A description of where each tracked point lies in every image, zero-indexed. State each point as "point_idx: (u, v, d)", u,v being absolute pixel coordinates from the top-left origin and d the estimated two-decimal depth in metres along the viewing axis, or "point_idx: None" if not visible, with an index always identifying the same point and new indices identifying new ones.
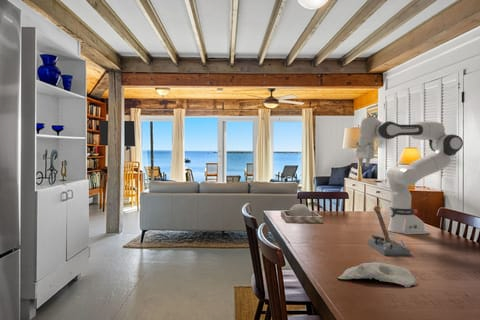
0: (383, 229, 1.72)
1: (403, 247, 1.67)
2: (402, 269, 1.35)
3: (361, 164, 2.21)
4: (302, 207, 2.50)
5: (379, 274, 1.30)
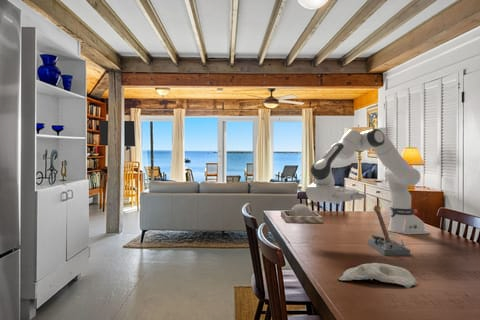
0: (383, 229, 1.72)
1: (403, 247, 1.67)
2: (402, 269, 1.35)
3: (363, 196, 1.81)
4: (303, 207, 2.50)
5: (380, 275, 1.29)
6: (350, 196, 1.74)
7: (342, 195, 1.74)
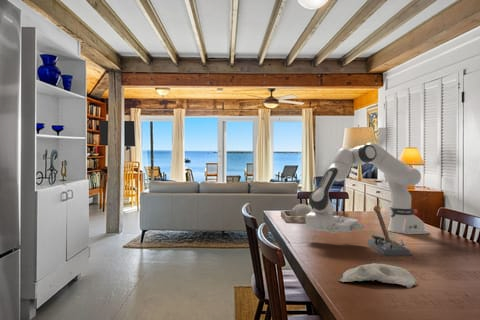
0: (383, 229, 1.72)
1: (403, 247, 1.67)
2: (401, 269, 1.35)
3: None
4: (304, 207, 2.50)
5: (381, 276, 1.28)
6: (349, 227, 1.74)
7: (341, 226, 1.74)
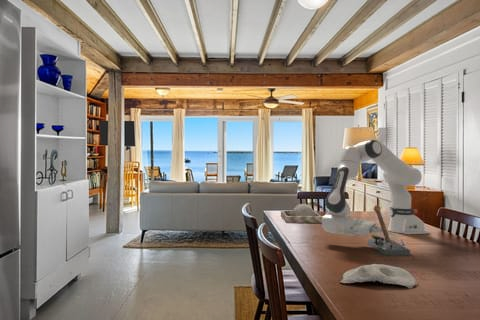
0: (383, 229, 1.72)
1: (403, 247, 1.67)
2: (401, 270, 1.34)
3: None
4: (304, 207, 2.50)
5: (382, 276, 1.27)
6: (369, 230, 1.70)
7: (360, 229, 1.69)
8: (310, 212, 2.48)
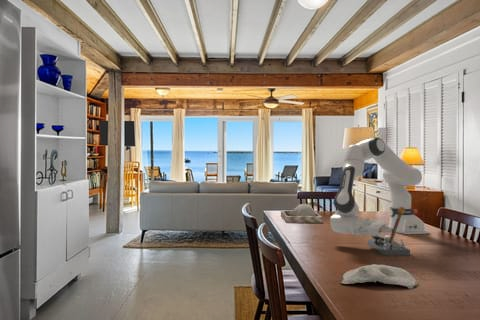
0: (394, 230, 1.69)
1: (403, 247, 1.67)
2: (401, 270, 1.34)
3: None
4: (305, 207, 2.50)
5: (383, 277, 1.27)
6: (378, 230, 1.67)
7: (370, 229, 1.67)
8: (310, 212, 2.48)
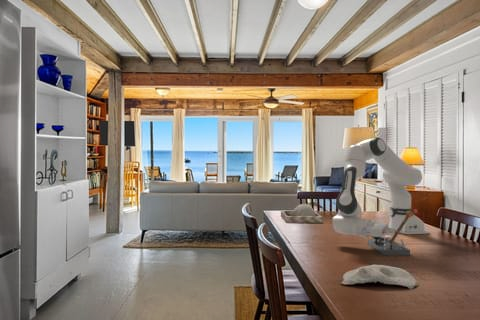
0: (397, 232, 1.68)
1: (403, 247, 1.67)
2: (401, 270, 1.34)
3: None
4: (305, 207, 2.50)
5: (383, 277, 1.27)
6: (381, 231, 1.67)
7: (373, 230, 1.66)
8: (310, 212, 2.48)
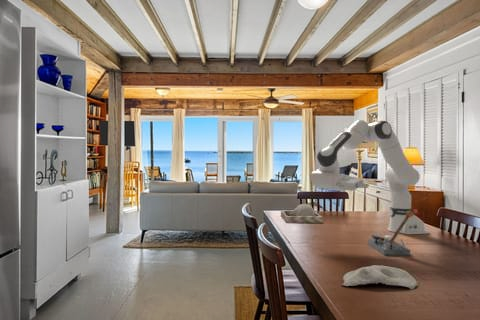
0: (397, 232, 1.68)
1: (403, 247, 1.67)
2: (400, 270, 1.34)
3: None
4: (305, 207, 2.51)
5: (384, 278, 1.26)
6: (354, 185, 1.76)
7: (346, 184, 1.76)
8: (310, 212, 2.48)
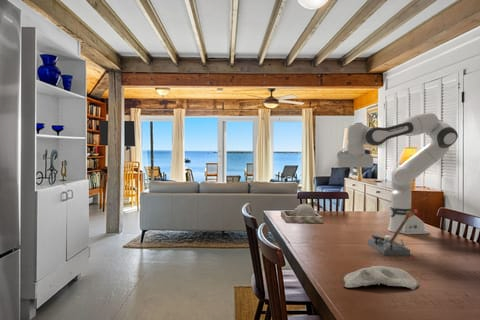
0: (397, 232, 1.68)
1: (403, 247, 1.67)
2: (400, 270, 1.33)
3: None
4: (305, 207, 2.51)
5: (386, 279, 1.25)
6: None
7: (338, 161, 2.06)
8: (310, 212, 2.48)
